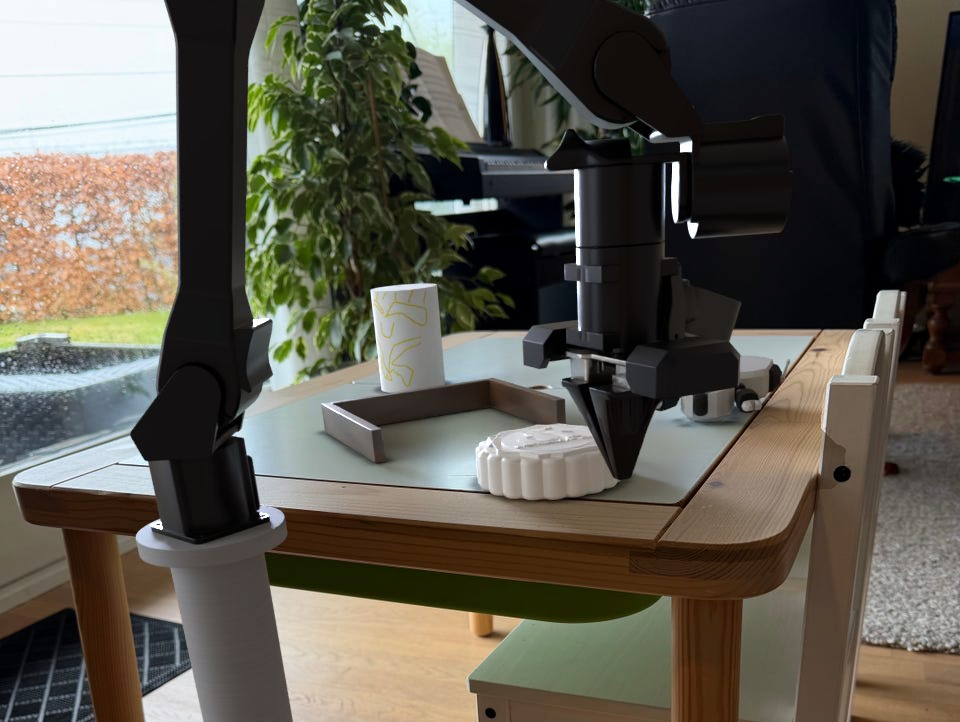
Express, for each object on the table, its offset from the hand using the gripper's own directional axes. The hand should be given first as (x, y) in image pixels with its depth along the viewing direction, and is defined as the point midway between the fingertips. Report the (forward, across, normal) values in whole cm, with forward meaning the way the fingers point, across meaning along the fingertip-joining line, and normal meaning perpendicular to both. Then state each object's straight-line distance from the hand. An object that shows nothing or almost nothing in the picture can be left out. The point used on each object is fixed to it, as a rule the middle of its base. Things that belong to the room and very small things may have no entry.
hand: (622, 478), depth 70 cm
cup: (+3, +61, -7) cm, 61 cm away
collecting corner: (+2, +34, 0) cm, 34 cm away
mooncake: (+3, +11, 0) cm, 11 cm away
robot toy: (+3, +23, -25) cm, 34 cm away
